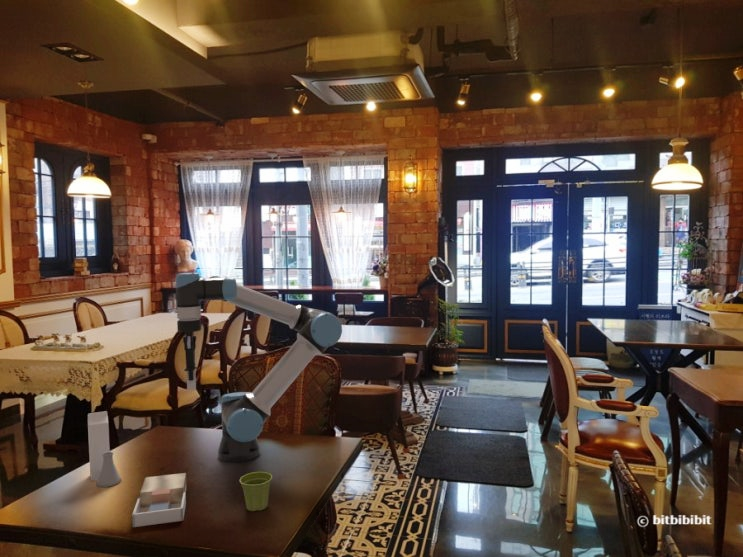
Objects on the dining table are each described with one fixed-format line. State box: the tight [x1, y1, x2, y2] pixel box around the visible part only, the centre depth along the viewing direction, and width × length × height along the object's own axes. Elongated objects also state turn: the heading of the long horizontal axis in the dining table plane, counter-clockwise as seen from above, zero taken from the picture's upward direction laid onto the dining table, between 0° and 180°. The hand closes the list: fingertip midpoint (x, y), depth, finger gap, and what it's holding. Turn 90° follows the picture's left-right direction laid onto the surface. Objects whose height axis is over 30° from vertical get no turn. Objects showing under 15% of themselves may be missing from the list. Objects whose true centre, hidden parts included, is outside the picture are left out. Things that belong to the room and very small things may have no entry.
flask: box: [95, 451, 122, 488], centre depth 182 cm, size 7×7×10 cm
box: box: [131, 491, 187, 528], centre depth 159 cm, size 13×11×4 cm
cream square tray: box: [139, 472, 187, 508], centre depth 170 cm, size 12×12×5 cm
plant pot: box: [238, 471, 273, 512], centre depth 163 cm, size 9×9×9 cm
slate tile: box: [148, 502, 170, 512], centre depth 157 cm, size 5×5×3 cm
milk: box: [87, 410, 111, 482], centre depth 188 cm, size 6×6×22 cm
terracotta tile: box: [151, 489, 171, 509], centre depth 162 cm, size 5×5×3 cm
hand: (191, 389), depth 186 cm, fingers closed
